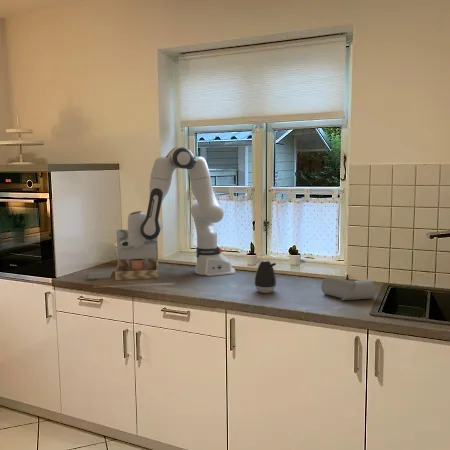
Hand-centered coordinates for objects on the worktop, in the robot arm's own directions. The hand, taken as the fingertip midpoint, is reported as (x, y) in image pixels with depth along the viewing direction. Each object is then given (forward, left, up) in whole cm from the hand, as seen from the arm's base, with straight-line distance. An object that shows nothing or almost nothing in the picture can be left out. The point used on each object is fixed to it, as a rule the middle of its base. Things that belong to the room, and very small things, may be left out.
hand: (137, 267), depth 254 cm
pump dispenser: (-61, +41, -5) cm, 74 cm away
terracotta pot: (0, 0, -4) cm, 4 cm away
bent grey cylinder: (-95, +55, -5) cm, 110 cm away
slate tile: (+20, -2, -5) cm, 21 cm away
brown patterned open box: (0, 0, -5) cm, 5 cm away
